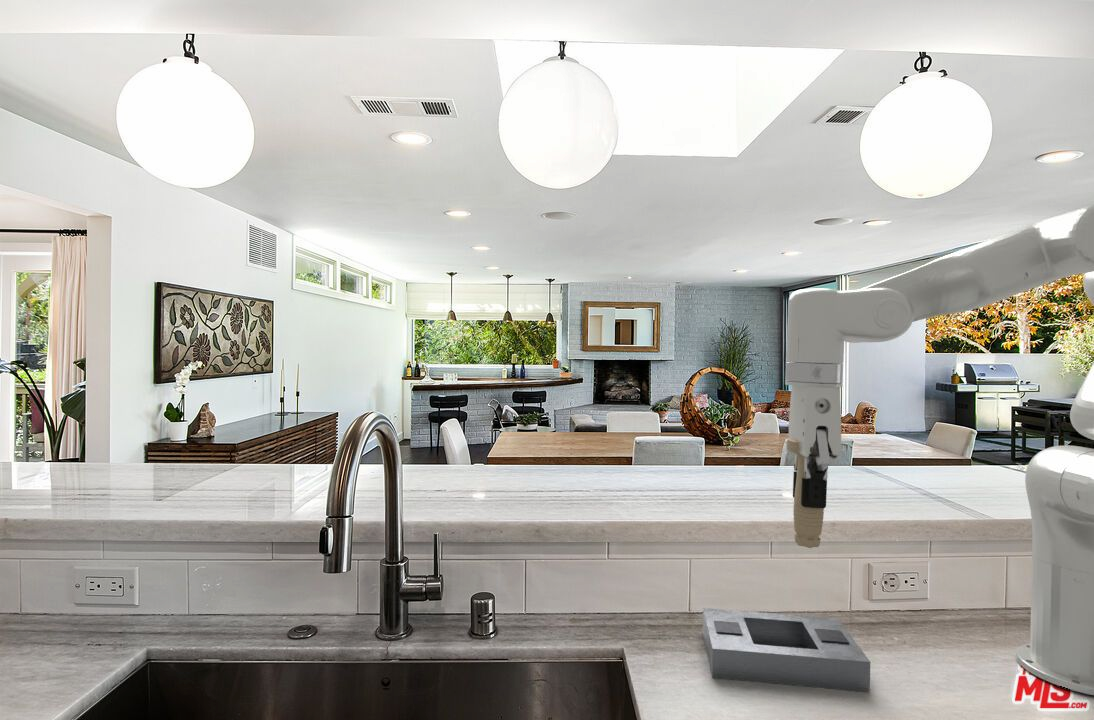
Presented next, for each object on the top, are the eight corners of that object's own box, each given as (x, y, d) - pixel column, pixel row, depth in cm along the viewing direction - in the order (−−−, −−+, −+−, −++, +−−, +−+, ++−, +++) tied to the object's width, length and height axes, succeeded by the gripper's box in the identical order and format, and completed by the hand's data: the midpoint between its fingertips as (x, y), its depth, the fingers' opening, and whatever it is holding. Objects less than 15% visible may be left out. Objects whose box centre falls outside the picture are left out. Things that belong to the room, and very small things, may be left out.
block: (837, 644, 91) (838, 616, 91) (869, 692, 78) (870, 660, 78) (702, 633, 94) (702, 606, 94) (712, 677, 81) (712, 646, 81)
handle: (836, 552, 83) (840, 445, 83) (787, 548, 84) (791, 442, 84) (825, 541, 88) (829, 440, 87) (779, 538, 89) (783, 437, 88)
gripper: (862, 379, 77) (857, 521, 77) (824, 374, 93) (819, 491, 93) (801, 377, 78) (795, 516, 78) (773, 373, 94) (769, 488, 94)
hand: (808, 501), depth 86 cm, fingers closed on handle, 3 cm apart
